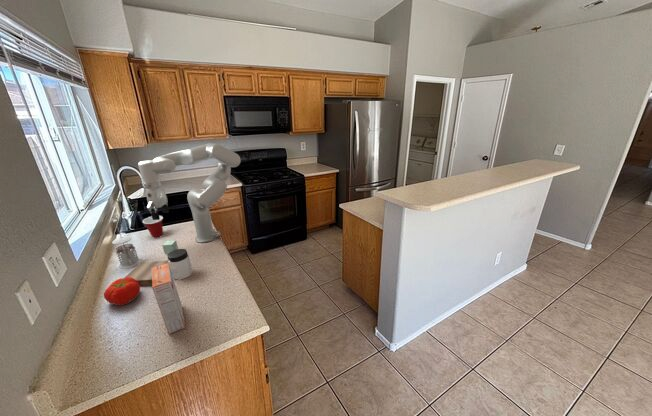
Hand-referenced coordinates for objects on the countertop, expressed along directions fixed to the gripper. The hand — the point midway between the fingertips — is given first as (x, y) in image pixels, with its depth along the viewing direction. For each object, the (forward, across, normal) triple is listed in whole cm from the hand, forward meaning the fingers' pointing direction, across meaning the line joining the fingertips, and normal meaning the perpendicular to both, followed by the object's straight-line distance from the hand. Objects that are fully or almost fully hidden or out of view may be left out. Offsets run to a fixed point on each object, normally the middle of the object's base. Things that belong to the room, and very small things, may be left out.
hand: (161, 216), depth 139 cm
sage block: (+22, 0, 0) cm, 22 cm away
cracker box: (+22, -53, -26) cm, 63 cm away
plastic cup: (+22, +22, +19) cm, 37 cm away
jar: (+22, -23, -16) cm, 36 cm away
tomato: (+23, -39, +1) cm, 45 cm away
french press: (+22, -10, +16) cm, 29 cm away
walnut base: (+22, -22, 0) cm, 31 cm away
